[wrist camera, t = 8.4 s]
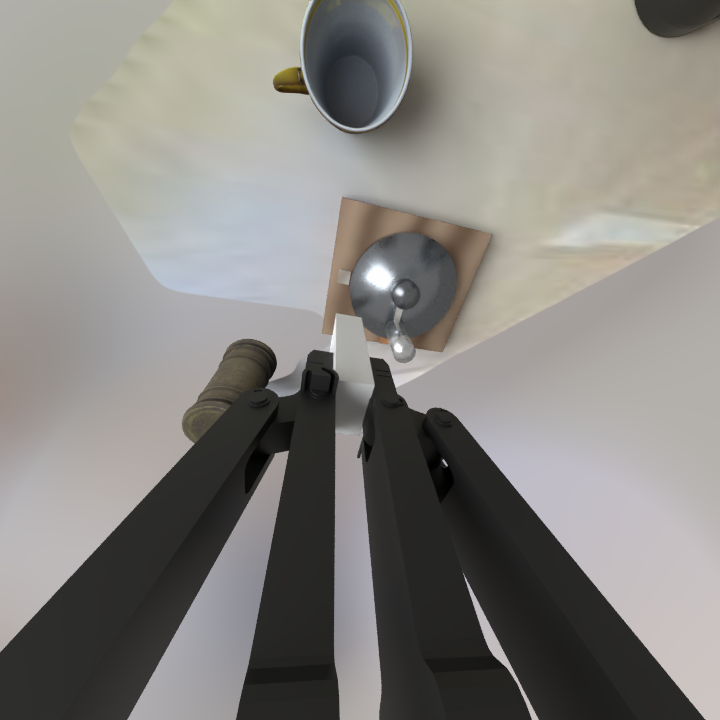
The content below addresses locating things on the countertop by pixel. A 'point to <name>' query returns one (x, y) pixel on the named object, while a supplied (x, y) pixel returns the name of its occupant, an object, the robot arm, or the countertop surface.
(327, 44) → the ceramic cup
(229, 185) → the countertop surface
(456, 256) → the stand
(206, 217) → the countertop surface
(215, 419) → the container
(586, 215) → the countertop surface
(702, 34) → the countertop surface
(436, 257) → the dial
